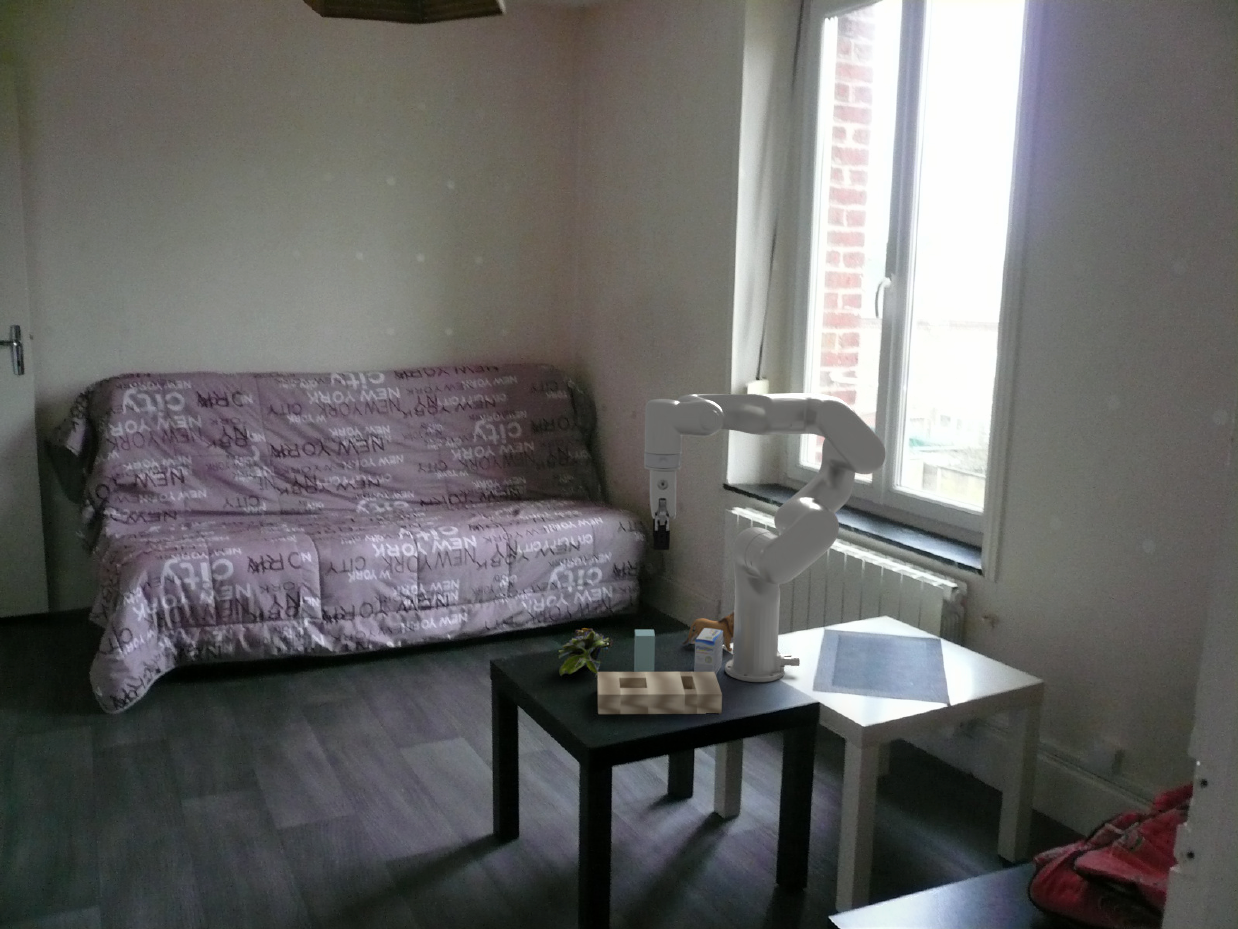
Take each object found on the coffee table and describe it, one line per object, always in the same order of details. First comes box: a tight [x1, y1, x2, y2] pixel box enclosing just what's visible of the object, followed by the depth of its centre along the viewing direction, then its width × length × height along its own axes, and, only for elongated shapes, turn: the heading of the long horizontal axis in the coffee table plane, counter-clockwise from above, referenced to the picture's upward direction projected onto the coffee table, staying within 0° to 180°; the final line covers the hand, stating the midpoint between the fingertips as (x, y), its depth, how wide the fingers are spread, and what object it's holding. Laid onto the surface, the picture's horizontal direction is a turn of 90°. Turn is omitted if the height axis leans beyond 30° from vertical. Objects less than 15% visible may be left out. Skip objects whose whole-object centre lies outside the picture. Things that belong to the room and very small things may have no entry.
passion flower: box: [558, 627, 614, 679], centre depth 229 cm, size 11×11×12 cm
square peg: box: [633, 629, 656, 672], centre depth 226 cm, size 4×4×10 cm
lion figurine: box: [682, 610, 734, 652], centre depth 245 cm, size 15×5×9 cm, turn 89°
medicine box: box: [693, 628, 724, 676], centre depth 230 cm, size 8×4×9 cm, turn 162°
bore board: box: [596, 671, 723, 715], centre depth 214 cm, size 24×12×4 cm, turn 92°
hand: (660, 543), depth 219 cm, fingers open, 9 cm apart
